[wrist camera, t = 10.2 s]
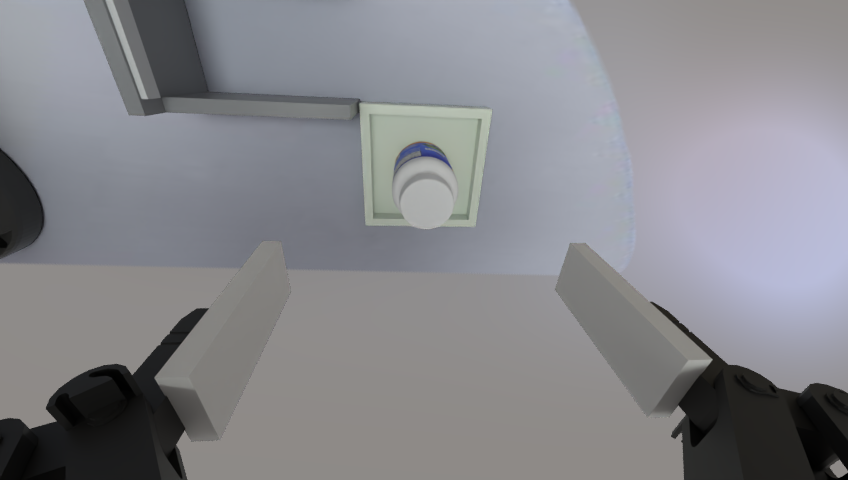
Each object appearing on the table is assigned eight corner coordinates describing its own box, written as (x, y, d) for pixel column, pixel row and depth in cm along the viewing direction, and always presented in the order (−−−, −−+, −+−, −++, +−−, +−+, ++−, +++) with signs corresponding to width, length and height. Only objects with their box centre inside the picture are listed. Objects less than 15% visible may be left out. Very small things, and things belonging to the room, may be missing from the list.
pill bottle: (458, 171, 31) (480, 209, 22) (417, 203, 32) (422, 251, 24) (425, 127, 28) (435, 151, 20) (382, 164, 30) (374, 201, 21)
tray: (367, 217, 33) (365, 225, 31) (361, 101, 28) (359, 103, 26) (471, 218, 34) (475, 226, 32) (486, 107, 28) (492, 109, 27)
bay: (199, 103, 27) (128, 115, 20) (156, -47, 22) (43, -103, 15) (360, 110, 28) (346, 123, 21) (353, -31, 23) (332, -76, 16)
